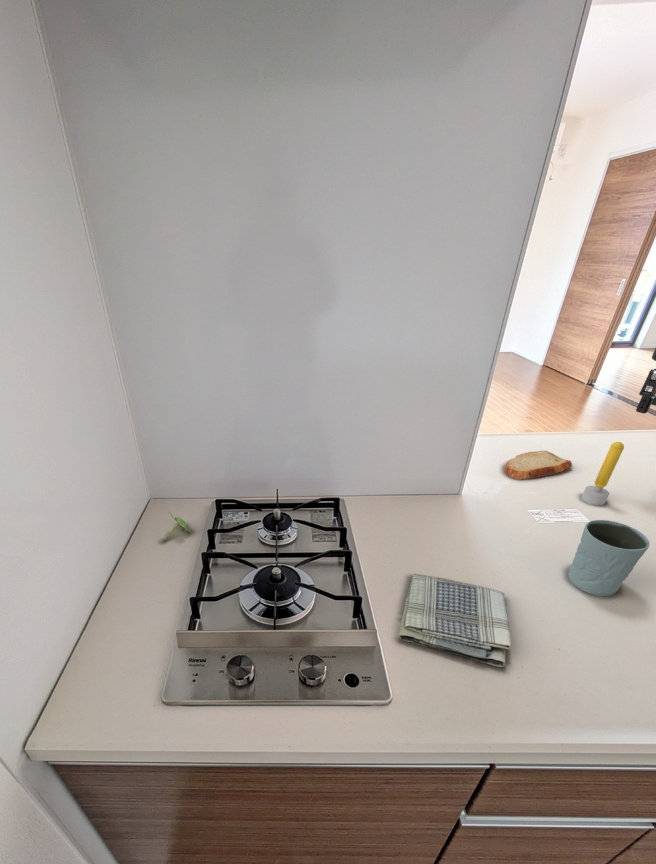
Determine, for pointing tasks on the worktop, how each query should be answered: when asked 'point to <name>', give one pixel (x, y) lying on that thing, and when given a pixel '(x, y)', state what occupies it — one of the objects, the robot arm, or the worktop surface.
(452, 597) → the dish towel
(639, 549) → the blue-green plant pot
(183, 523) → the green hummingbird figurine
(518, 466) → the bread slice
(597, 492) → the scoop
